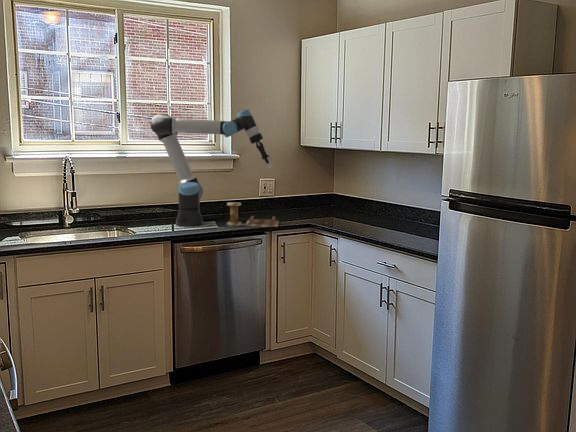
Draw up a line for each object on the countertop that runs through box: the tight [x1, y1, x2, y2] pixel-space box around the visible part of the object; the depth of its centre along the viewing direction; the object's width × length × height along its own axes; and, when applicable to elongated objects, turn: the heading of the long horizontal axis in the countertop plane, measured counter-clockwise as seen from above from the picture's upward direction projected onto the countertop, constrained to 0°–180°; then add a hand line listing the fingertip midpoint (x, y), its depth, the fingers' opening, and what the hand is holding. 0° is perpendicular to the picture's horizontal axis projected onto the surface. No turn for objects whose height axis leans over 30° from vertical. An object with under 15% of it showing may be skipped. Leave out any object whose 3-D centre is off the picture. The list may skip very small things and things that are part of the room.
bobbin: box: [226, 201, 242, 227], centre depth 337 cm, size 8×8×12 cm
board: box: [245, 215, 280, 228], centre depth 340 cm, size 18×14×4 cm
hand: (271, 168), depth 347 cm, fingers open, 13 cm apart
